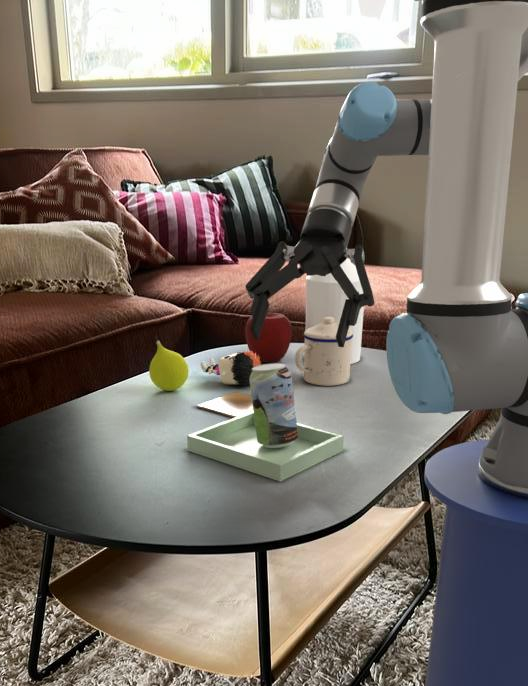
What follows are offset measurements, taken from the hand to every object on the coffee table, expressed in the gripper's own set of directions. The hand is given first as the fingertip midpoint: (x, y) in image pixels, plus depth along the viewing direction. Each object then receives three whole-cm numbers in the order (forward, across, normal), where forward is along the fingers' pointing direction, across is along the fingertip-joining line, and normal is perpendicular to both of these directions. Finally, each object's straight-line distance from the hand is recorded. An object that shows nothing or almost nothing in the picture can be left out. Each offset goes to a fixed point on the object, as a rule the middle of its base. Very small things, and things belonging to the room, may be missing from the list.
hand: (295, 338), depth 115 cm
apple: (-15, +18, -36) cm, 43 cm away
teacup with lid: (-8, +4, -28) cm, 30 cm away
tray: (+18, +1, -2) cm, 18 cm away
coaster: (+5, +12, -15) cm, 20 cm away
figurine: (-4, +20, -24) cm, 31 cm away
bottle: (-20, +6, -40) cm, 45 cm away
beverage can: (+16, 0, -3) cm, 17 cm away
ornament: (+2, +28, -18) cm, 33 cm away
